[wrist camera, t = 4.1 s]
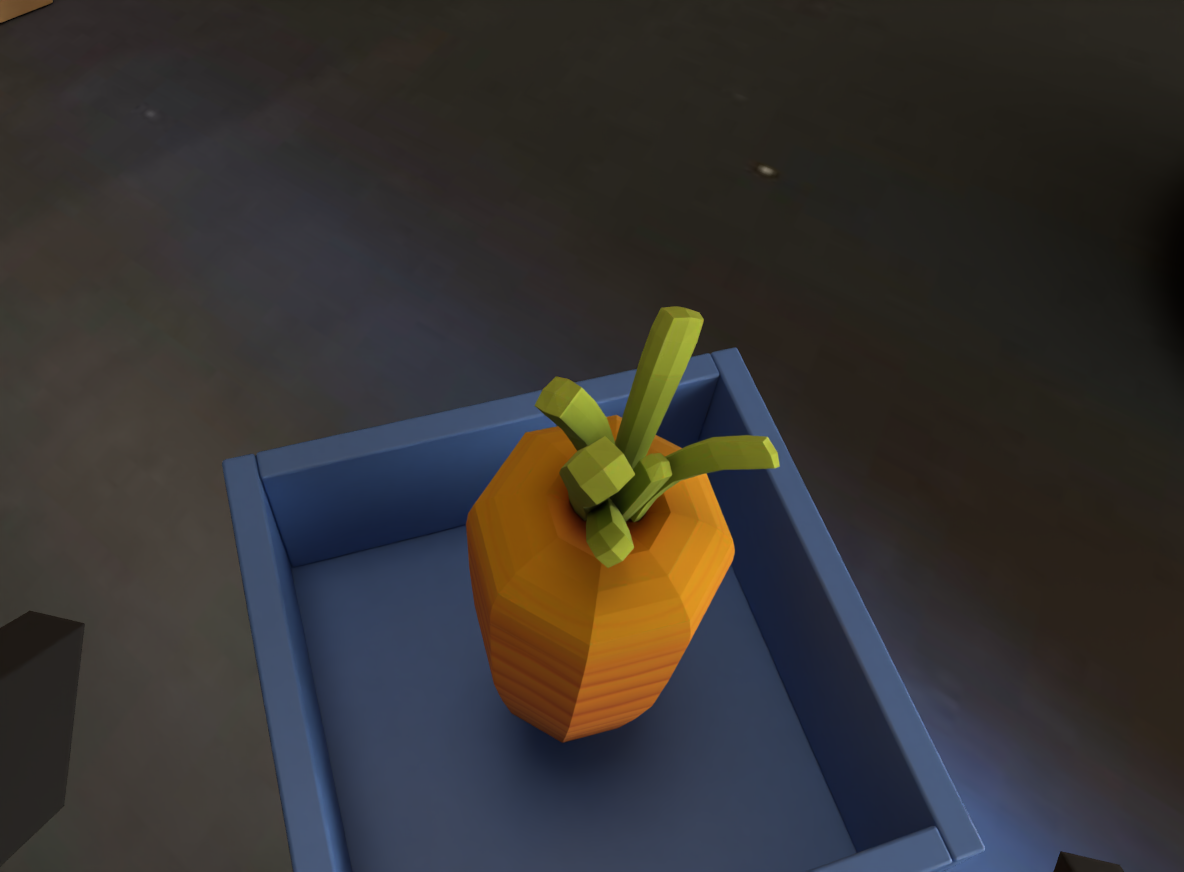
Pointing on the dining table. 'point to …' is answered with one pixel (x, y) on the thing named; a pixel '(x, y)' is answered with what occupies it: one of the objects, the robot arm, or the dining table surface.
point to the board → (19, 7)
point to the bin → (523, 752)
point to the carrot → (602, 547)
